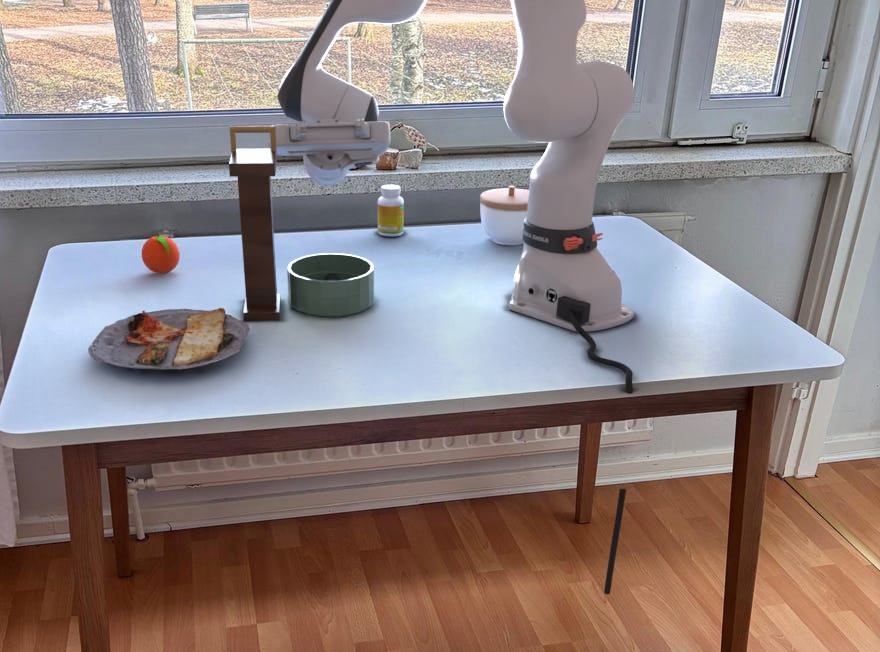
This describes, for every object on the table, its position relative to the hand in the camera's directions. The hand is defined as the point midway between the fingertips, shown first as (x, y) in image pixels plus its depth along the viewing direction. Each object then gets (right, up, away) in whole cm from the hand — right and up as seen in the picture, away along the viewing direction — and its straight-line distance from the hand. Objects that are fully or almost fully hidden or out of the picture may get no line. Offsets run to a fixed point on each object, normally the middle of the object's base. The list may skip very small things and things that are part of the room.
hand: (330, 125), depth 160 cm
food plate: (-24, -37, -4) cm, 44 cm away
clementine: (-33, -19, +27) cm, 46 cm away
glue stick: (-1, -25, +14) cm, 29 cm away
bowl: (-1, -26, +14) cm, 30 cm away
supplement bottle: (+9, -5, +50) cm, 51 cm away
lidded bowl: (+34, -7, +47) cm, 58 cm away
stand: (-12, -28, +11) cm, 33 cm away
